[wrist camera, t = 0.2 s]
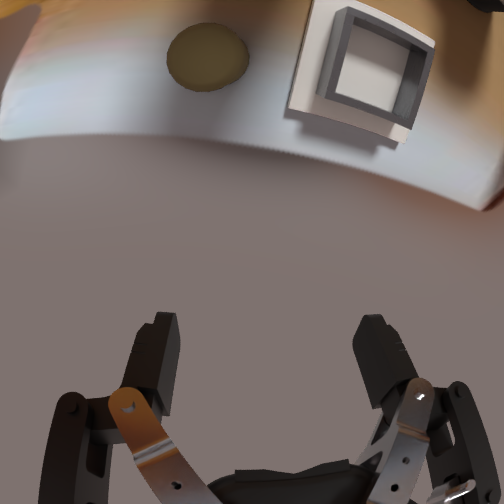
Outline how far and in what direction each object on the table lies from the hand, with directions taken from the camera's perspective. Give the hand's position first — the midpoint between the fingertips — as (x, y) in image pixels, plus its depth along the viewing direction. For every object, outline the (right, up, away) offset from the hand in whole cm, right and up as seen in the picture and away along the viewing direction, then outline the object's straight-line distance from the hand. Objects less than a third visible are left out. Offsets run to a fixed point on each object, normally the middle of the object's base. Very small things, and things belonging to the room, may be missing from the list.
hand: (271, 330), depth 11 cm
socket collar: (+11, +22, +9) cm, 26 cm away
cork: (-4, +22, +11) cm, 25 cm away
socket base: (+11, +22, +10) cm, 27 cm away
